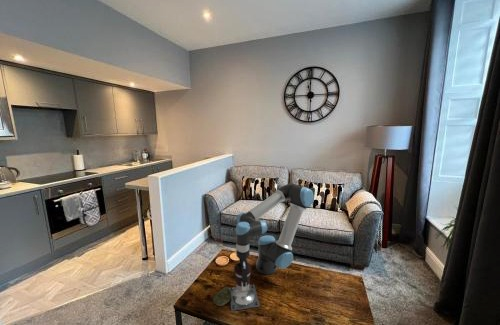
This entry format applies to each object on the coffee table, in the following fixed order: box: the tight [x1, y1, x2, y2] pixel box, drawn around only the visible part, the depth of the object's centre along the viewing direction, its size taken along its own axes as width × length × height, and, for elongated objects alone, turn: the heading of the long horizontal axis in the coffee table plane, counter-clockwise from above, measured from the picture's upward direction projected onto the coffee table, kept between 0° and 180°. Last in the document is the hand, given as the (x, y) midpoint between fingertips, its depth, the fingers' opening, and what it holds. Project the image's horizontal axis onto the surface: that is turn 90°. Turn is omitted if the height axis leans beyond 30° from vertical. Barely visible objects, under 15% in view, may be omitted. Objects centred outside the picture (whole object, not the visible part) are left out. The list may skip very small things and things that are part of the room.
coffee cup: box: [233, 262, 252, 292], centre depth 124 cm, size 10×10×15 cm
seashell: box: [212, 286, 231, 307], centre depth 125 cm, size 10×7×10 cm
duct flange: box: [228, 284, 260, 312], centre depth 126 cm, size 16×16×2 cm
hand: (243, 284), depth 125 cm, fingers closed on coffee cup, 8 cm apart
